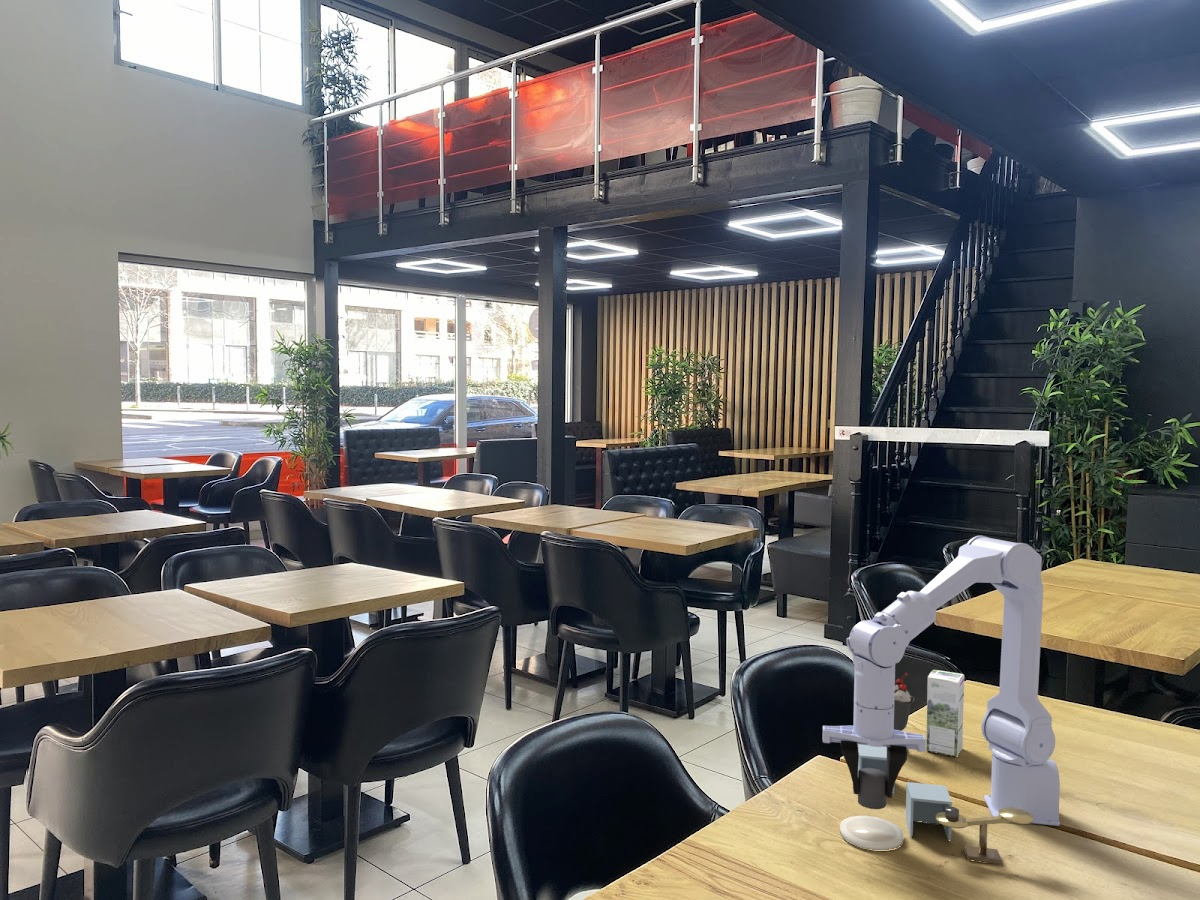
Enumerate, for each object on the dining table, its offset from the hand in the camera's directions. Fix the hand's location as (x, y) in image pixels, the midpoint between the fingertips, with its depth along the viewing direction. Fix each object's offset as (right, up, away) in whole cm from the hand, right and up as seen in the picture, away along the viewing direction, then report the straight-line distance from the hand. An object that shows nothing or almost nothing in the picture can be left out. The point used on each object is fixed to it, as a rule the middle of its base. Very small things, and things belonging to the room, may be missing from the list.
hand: (871, 793), depth 127 cm
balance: (+14, -7, -6) cm, 17 cm away
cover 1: (+6, -6, +18) cm, 20 cm away
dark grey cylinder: (0, -2, 0) cm, 2 cm away
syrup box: (+24, -6, +34) cm, 42 cm away
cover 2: (+9, -7, +2) cm, 11 cm away
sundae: (+15, -6, +34) cm, 37 cm away
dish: (0, -7, 0) cm, 7 cm away
